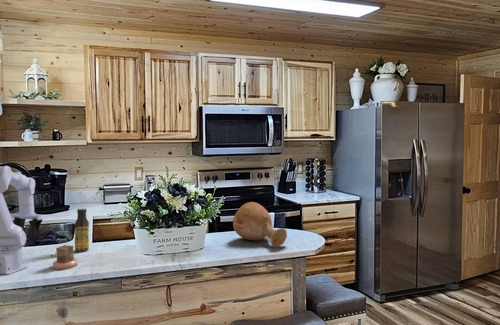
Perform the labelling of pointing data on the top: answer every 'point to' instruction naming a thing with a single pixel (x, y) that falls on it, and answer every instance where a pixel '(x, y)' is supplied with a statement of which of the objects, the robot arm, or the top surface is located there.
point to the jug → (257, 224)
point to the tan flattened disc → (64, 265)
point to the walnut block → (65, 254)
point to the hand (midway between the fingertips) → (28, 235)
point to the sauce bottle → (81, 231)
